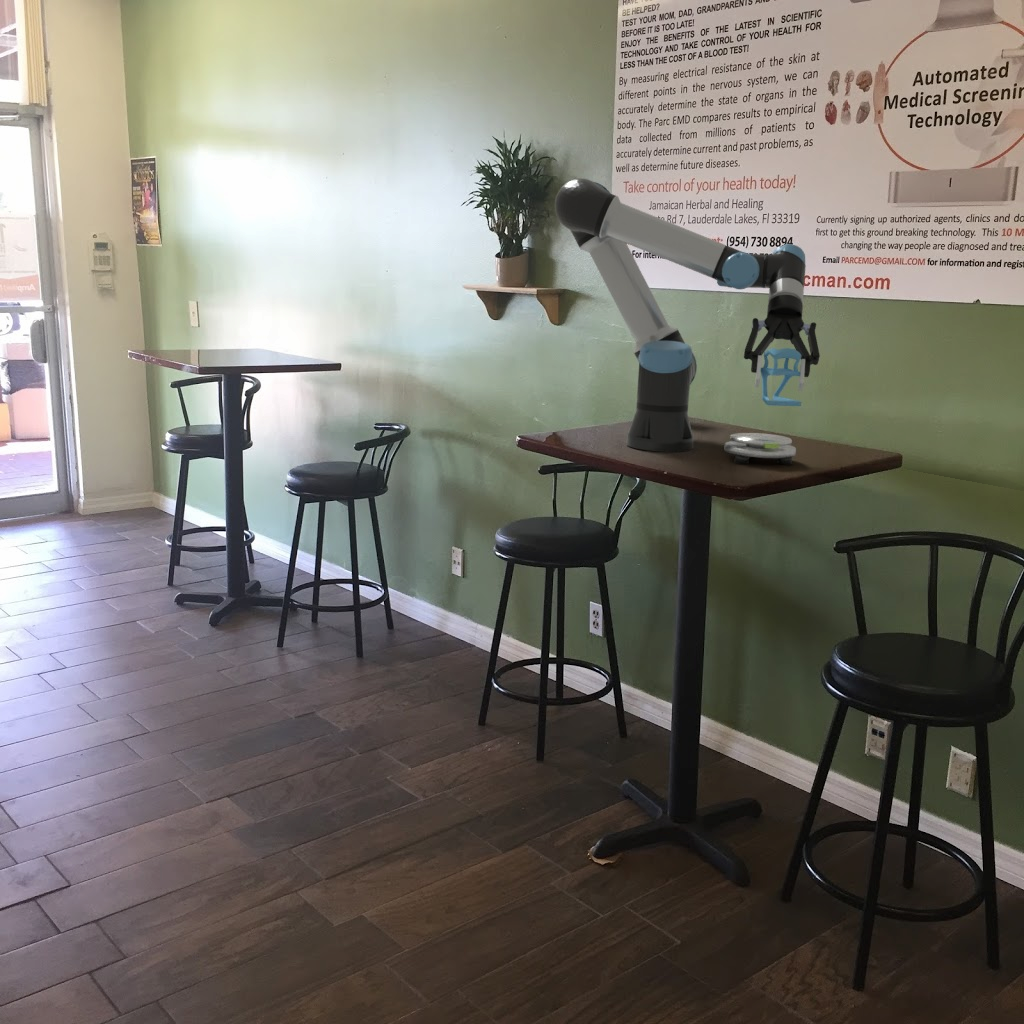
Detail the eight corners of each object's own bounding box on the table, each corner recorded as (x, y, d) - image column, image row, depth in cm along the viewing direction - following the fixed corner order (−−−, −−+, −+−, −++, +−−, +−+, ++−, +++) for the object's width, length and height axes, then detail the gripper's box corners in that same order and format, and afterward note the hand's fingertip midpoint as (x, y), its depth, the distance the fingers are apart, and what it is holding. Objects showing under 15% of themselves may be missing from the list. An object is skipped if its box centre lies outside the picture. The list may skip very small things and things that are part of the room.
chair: (784, 400, 234) (791, 345, 231) (801, 406, 226) (808, 349, 223) (751, 399, 233) (757, 344, 230) (767, 405, 225) (774, 348, 222)
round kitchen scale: (735, 466, 222) (737, 443, 221) (714, 453, 236) (716, 431, 235) (805, 467, 223) (807, 444, 222) (780, 454, 238) (782, 432, 237)
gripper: (831, 319, 238) (828, 400, 227) (735, 312, 241) (727, 391, 230) (837, 296, 231) (833, 378, 220) (738, 289, 235) (729, 370, 224)
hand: (779, 385), depth 225 cm, fingers closed on chair, 8 cm apart
